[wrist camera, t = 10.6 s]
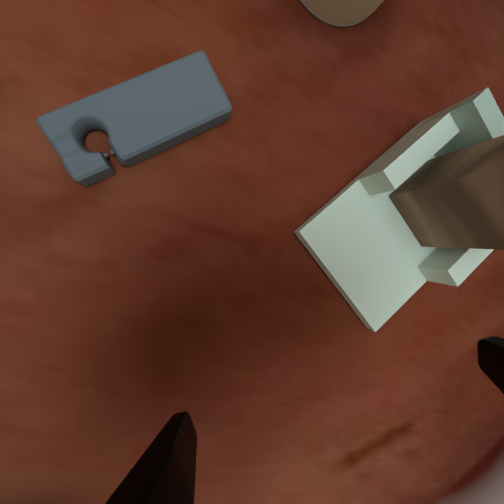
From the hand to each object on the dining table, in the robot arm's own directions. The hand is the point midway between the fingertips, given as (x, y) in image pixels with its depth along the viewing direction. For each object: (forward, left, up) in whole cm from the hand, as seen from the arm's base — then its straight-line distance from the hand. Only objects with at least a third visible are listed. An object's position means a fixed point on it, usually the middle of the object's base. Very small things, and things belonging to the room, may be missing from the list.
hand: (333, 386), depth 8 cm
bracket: (+4, +13, -12) cm, 18 cm away
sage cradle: (+12, -5, -11) cm, 17 cm away
